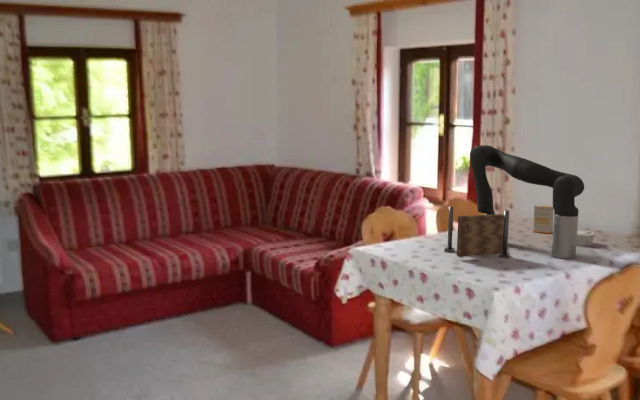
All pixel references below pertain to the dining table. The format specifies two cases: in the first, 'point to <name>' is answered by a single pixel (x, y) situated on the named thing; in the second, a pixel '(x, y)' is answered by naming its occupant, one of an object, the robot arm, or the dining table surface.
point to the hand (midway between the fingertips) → (471, 241)
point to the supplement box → (543, 218)
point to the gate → (480, 235)
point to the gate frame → (505, 234)
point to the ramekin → (584, 238)
